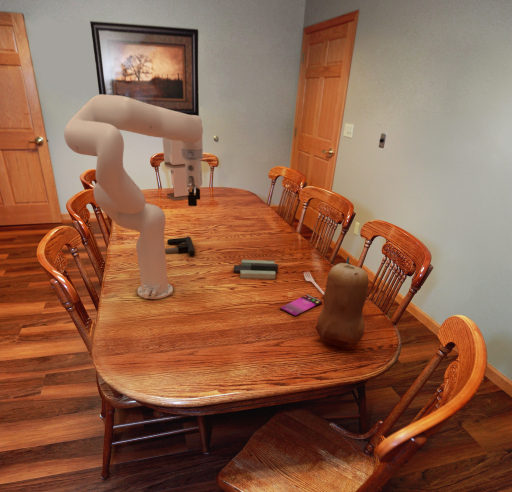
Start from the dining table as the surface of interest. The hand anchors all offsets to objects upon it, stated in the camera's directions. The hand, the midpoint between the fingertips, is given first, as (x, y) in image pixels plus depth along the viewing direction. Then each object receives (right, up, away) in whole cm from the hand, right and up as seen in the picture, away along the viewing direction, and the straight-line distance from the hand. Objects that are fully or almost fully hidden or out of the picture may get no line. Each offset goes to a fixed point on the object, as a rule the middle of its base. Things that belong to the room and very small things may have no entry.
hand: (194, 202), depth 153 cm
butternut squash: (+48, -54, -31) cm, 79 cm away
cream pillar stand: (-27, +40, +109) cm, 119 cm away
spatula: (+25, -24, +12) cm, 37 cm away
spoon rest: (+24, -25, +12) cm, 37 cm away
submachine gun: (-12, -12, +30) cm, 34 cm away
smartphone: (+40, -41, -12) cm, 58 cm away
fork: (+47, -32, +2) cm, 57 cm away
